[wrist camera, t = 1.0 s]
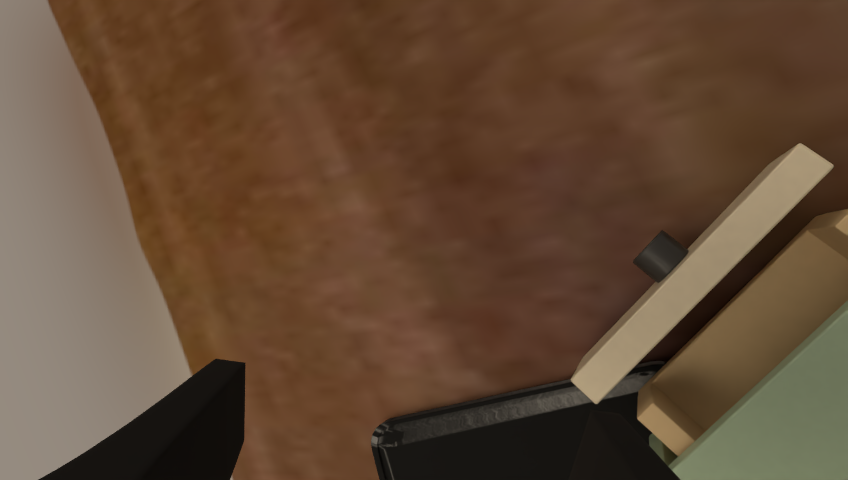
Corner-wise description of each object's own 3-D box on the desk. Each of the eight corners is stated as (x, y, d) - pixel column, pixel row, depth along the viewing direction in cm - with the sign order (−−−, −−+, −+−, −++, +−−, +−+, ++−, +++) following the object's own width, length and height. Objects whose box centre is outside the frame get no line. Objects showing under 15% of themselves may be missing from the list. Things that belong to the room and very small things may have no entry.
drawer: (560, 338, 24) (543, 356, 20) (743, 143, 21) (766, 119, 17) (825, 581, 20) (871, 664, 16) (1082, 379, 18) (1212, 417, 14)
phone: (365, 426, 27) (682, 358, 22) (376, 420, 28) (680, 353, 23) (408, 590, 26) (750, 560, 21) (417, 577, 27) (745, 545, 22)
